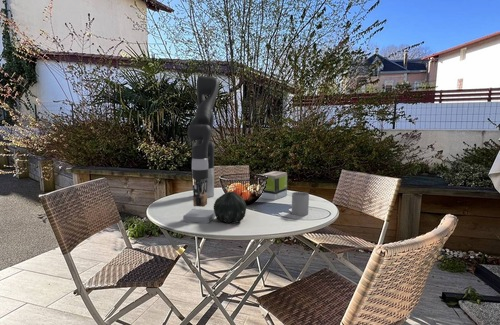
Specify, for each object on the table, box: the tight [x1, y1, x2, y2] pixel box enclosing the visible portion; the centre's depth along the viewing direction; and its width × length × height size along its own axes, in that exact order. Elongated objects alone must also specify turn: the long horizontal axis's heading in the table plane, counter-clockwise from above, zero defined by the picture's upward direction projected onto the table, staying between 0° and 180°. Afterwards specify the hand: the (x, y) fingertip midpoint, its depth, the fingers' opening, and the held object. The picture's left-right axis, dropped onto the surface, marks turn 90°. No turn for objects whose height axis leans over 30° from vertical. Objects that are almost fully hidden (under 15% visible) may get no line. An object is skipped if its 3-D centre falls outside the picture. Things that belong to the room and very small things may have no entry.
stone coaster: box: [183, 208, 216, 224], centre depth 147 cm, size 12×12×2 cm
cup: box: [291, 191, 310, 217], centre depth 156 cm, size 8×8×10 cm
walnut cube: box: [192, 193, 208, 208], centre depth 146 cm, size 5×5×5 cm
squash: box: [213, 191, 247, 224], centre depth 143 cm, size 14×15×15 cm
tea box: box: [260, 170, 288, 201], centre depth 190 cm, size 15×10×15 cm
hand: (200, 204), depth 146 cm, fingers closed on walnut cube, 5 cm apart
